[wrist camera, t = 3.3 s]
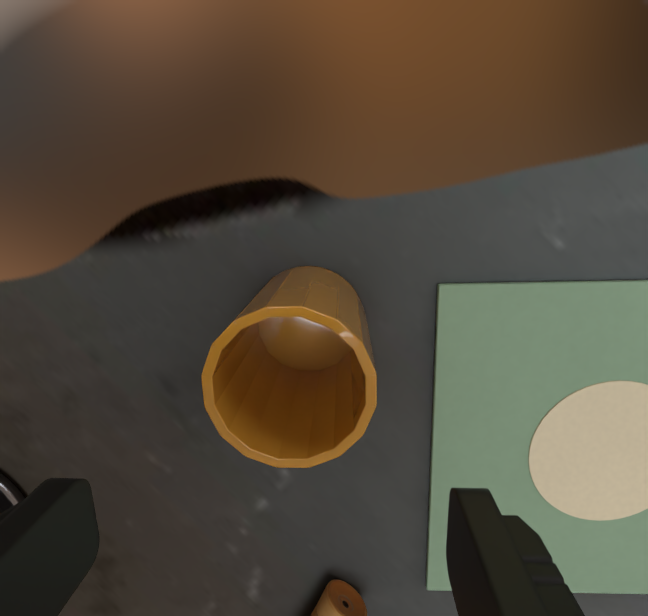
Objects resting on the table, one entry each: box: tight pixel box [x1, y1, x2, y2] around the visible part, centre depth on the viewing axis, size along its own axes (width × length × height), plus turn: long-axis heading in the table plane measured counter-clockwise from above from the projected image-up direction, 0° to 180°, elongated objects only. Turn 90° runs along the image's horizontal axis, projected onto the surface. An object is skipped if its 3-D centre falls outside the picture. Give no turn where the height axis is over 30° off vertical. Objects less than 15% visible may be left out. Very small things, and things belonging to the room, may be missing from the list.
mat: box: [426, 280, 648, 594], centre depth 25 cm, size 20×20×1 cm
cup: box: [201, 266, 377, 468], centre depth 20 cm, size 6×6×9 cm
